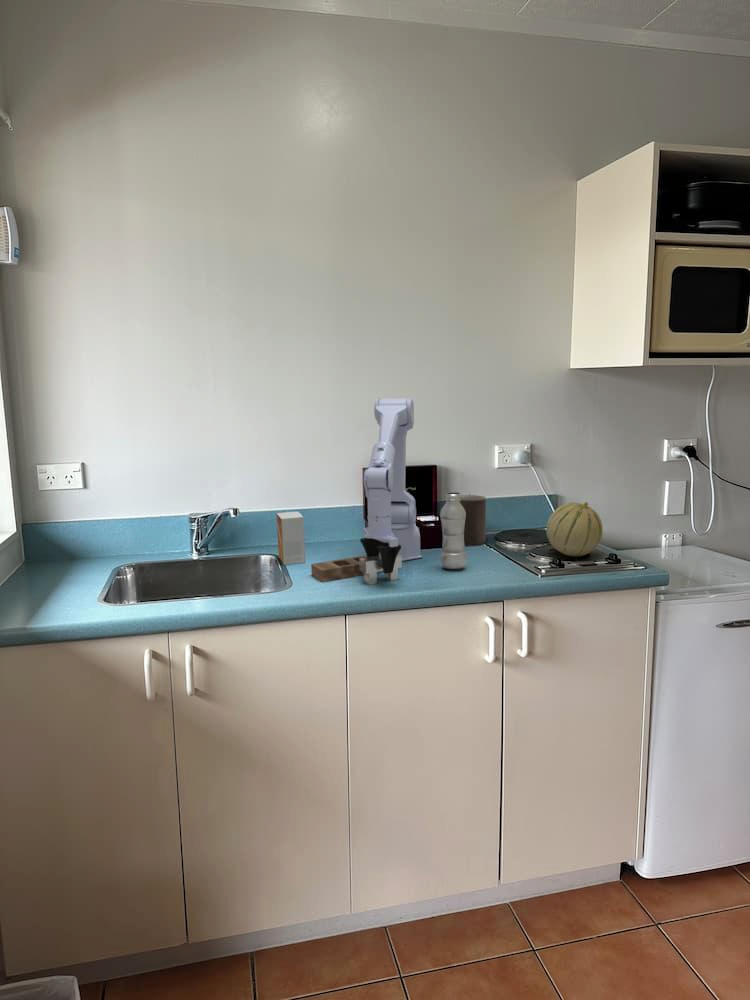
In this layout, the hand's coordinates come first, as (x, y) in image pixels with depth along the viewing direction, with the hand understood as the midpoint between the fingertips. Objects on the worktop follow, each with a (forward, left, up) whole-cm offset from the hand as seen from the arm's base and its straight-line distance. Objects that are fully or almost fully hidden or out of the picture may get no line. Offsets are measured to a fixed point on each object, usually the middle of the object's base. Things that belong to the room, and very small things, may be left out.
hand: (380, 569), depth 174 cm
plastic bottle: (-21, +1, -3) cm, 21 cm away
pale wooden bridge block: (0, 0, -3) cm, 3 cm away
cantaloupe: (-56, +8, -3) cm, 57 cm away
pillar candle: (-41, -20, -3) cm, 46 cm away
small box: (+12, -30, -3) cm, 32 cm away
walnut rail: (+3, -10, -3) cm, 11 cm away
